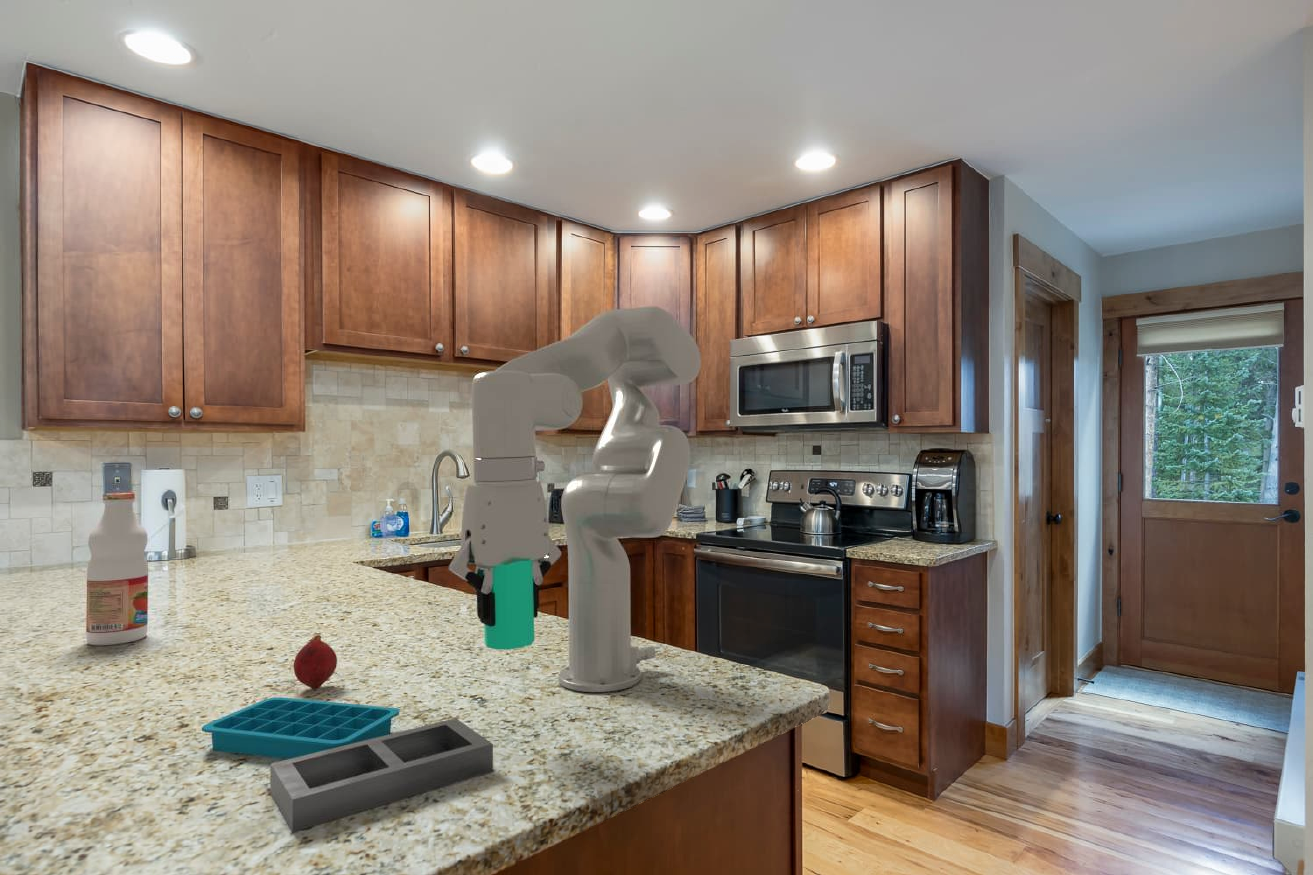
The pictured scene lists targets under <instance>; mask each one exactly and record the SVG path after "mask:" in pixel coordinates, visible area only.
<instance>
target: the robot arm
mask: <svg viewBox="0 0 1313 875" xmlns="http://www.w3.org/2000/svg"><path fill="white" fill-rule="evenodd" d="M700 352H701V351H700V350H699V346H698V344H697V342H696V341H695V338H693V336H692V334H690V333H689V332H688V330H686V328H685V327H684V326H683V325H682V324H681V323H680V322H679V320H678V319H677V318H675V317H674V316H673V315H672V314H671V313H670V312H669V311H667V310H666V309H663V308H661V307H658V306H652V305H651V306H641V307H632V308H621V309H610V310H607V311H604V312H601V313H600V314H597V315H596V316H594V317H593V318H592V319H590V320H589V321H588V322H587V323H586V324H584V325H583V326H582V327H580V328H579V329H578V330H576V331H574V333H573V334H571V335H569V336H568V337H567V338H564V339H561V340H558V341H556V342H553V343H549V344H548V345H546V346H543V347H541V348H539V349H536V350H532V351H530V352H528V353H525V354H522V355H520V356H517V357H515V358H513V359H511V360H509V361H507V362H506V363H504V364H502V365H501V366H499V367H498V368H497V369H495V370H490V371H489V370H488V371H484V372H480V373H477V374H476V375H475V376H474V377H473V379H472V382H471V408H472V409H471V411H472V412H471V413H472V418H471V419H472V447H473V448H472V450H473V451H472V452H473V480H474V481H473V484H468V485H466V490H465V496H464V502H463V510H462V518H461V532H460V533H461V536H460V538H461V539H460V548H459V550H458V551H457V553H456V555H455V556H454V557H453V558H452V560H451V562H450V563H449V565H448V570H449V571H450V572H451V573H453V574H455V575H457V577H459V578H460V579H462V580H463V581H465V582H466V583H467V584H468V585H469V586H470V587H472V589H473V590H474V591H476V614H477V615H476V616H477V618H478V619H479V621H480V623H481V624H486V625H488V626H490V627H491V626H495V593H492V592H490V591H491V588H492V583H493V568H494V567H496V566H498V565H499V564H509V563H512V562H515V561H527V560H528V559H530V558H531V561H532V565H533V603H534V619H535V618H537V617H538V615H539V614H538V612H539V610H538V609H539V608H540V585H542V583H543V581H544V577H545V576H546V575H547V573H548V572H549V570H550V569H551V566H552V565H554V564H555V562H557V560H559V559H560V557H561V556H562V551H561V550H560V548H559V547H558V546H557V544H556V543H555V542H554V541H553V539H552V538H551V537H550V530H549V527H550V526H549V519H548V518H549V517H548V511H547V504H546V499H545V494H544V489H543V485H542V482H541V481H538V480H537V478H538V473H539V472H544V470H546V469H545V467H546V464H545V462H544V460H538V457H537V454H536V431H556V430H558V431H559V430H562V429H565V428H568V427H570V426H571V425H572V424H574V423H575V422H577V420H578V418H579V416H580V415H581V413H582V410H583V405H584V404H583V395H582V393H583V392H585V391H589V390H592V389H595V388H598V387H599V386H601V385H602V384H603V383H605V381H607V383H608V388H609V393H610V398H611V403H612V408H611V412H610V415H609V417H608V418H607V420H606V423H605V425H604V428H603V430H602V431H601V434H600V436H599V439H598V440H597V443H596V445H595V448H594V450H593V455H592V468H593V471H594V473H590V474H585V475H584V474H583V475H580V476H577V477H575V478H573V479H571V480H570V481H569V482H568V483H567V484H566V486H565V487H564V490H563V492H562V495H561V500H560V501H561V503H560V504H561V505H560V506H561V515H562V521H563V525H564V529H565V531H564V532H565V535H566V543H567V554H568V555H567V560H568V562H567V564H568V571H567V572H568V666H566V667H564V668H562V670H560V671H559V673H558V683H559V684H560V685H561V686H563V687H564V688H566V689H569V690H572V691H577V692H583V693H607V692H615V691H620V690H625V689H627V688H630V687H633V686H635V685H637V684H639V682H640V681H641V679H642V673H641V670H640V668H639V667H638V666H637V665H639V664H640V663H641V661H647V660H652V659H654V658H656V655H657V652H656V649H655V647H654V646H652V645H650V646H645V647H641V648H639V646H637V645H635V646H632V644H631V641H632V640H631V639H632V636H631V635H632V634H631V631H632V630H631V628H632V627H631V565H630V561H629V558H628V555H627V553H626V550H625V549H624V547H623V545H622V544H621V542H620V541H619V539H618V538H642V539H643V538H645V539H646V538H647V539H648V538H658V537H661V536H663V535H664V534H665V533H666V532H667V531H668V530H669V529H670V527H671V525H672V522H673V520H674V517H675V514H676V512H677V511H676V510H677V508H678V505H679V502H680V499H681V495H682V493H683V490H684V486H685V483H686V481H687V477H688V474H689V471H690V464H691V451H690V450H691V448H690V443H689V439H688V437H687V435H686V434H685V433H684V432H683V431H682V429H680V428H678V427H677V426H675V425H668V424H667V425H666V424H660V421H661V415H660V412H659V410H658V408H657V406H656V404H655V403H654V402H653V401H652V399H651V398H650V396H648V395H647V394H646V393H645V392H644V391H643V388H645V387H662V386H666V387H667V386H680V385H686V384H691V383H692V382H693V381H695V379H697V377H698V375H699V373H700V370H701V367H702V366H701V365H702V358H701V354H700ZM467 564H469V565H476V566H475V571H473V570H472V569H470V568H468V566H467Z"/></svg>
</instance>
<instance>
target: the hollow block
mask: <svg viewBox="0 0 1313 875" xmlns="http://www.w3.org/2000/svg"><path fill="white" fill-rule="evenodd" d="M493 749H494V744H493V742H491V741H490V740H488V739H486V738H485V737H484V736H482V735H481V734H479V733H478V732H476V731H475V730H474V729H472V728H470V727H469V726H468V725H466V724H465V723H463V722H462V721H460V720H459V719H457V717H455V718H451V719H446V720H443V721H439V722H435V723H431V724H427V725H422V726H418V727H414V728H411V729H407V730H403V731H399V732H394V733H390V734H389V735H385V736H381V737H377V738H373V739H369V740H365V741H361V742H357V743H353V744H349V745H345V746H341V747H336V748H332V749H328V750H324V751H320V752H316V753H312V754H308V755H304V756H300V757H296V758H292V759H284V760H280V761H276V762H273V763H270V773H269V774H270V782H269V783H270V784H269V786H270V789H269V790H270V795H271V797H272V798H273V800H274V802H275V804H276V806H277V805H278V806H277V808H278V807H279V808H278V809H279V811H280V813H281V814H282V816H284V817H283V818H284V820H285V821H286V824H287V825H288V827H289V829H290V831H291V832H292V833H296V832H299V831H302V830H305V829H308V828H312V827H314V826H319V825H322V824H325V823H328V822H331V821H335V820H337V819H342V818H345V817H347V816H351V815H354V814H358V813H361V812H364V811H367V810H368V811H369V810H371V809H374V808H376V807H381V806H385V805H387V804H390V803H394V802H397V801H401V800H405V799H407V798H410V797H411V798H412V797H413V796H417V795H421V794H423V793H427V792H430V791H434V790H437V789H440V788H443V787H446V786H450V785H453V784H457V783H459V782H463V781H466V780H469V779H472V778H476V777H479V776H482V775H486V774H489V773H493V772H494V750H493ZM312 787H313V788H312Z"/></svg>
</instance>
